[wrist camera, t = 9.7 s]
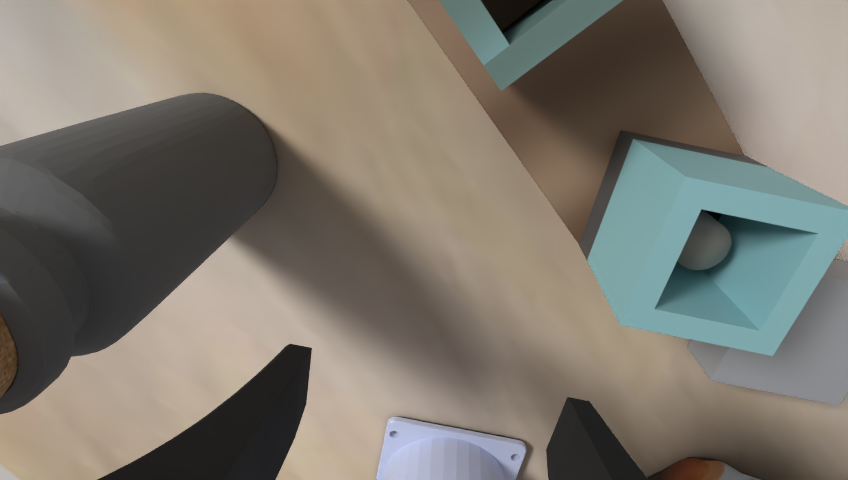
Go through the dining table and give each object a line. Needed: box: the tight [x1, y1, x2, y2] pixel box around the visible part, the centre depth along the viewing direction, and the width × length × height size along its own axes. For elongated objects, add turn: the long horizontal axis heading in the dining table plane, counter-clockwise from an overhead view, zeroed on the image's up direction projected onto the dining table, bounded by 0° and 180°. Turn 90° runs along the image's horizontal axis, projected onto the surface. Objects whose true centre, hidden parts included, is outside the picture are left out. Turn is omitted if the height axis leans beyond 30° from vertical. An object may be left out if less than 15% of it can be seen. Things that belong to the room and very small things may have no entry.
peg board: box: [408, 0, 744, 270], centre depth 16 cm, size 18×7×8 cm, turn 38°
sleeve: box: [579, 130, 848, 356], centre depth 17 cm, size 5×5×6 cm
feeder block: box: [687, 259, 848, 406], centre depth 22 cm, size 6×6×2 cm
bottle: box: [0, 93, 277, 414], centre depth 15 cm, size 6×6×15 cm
